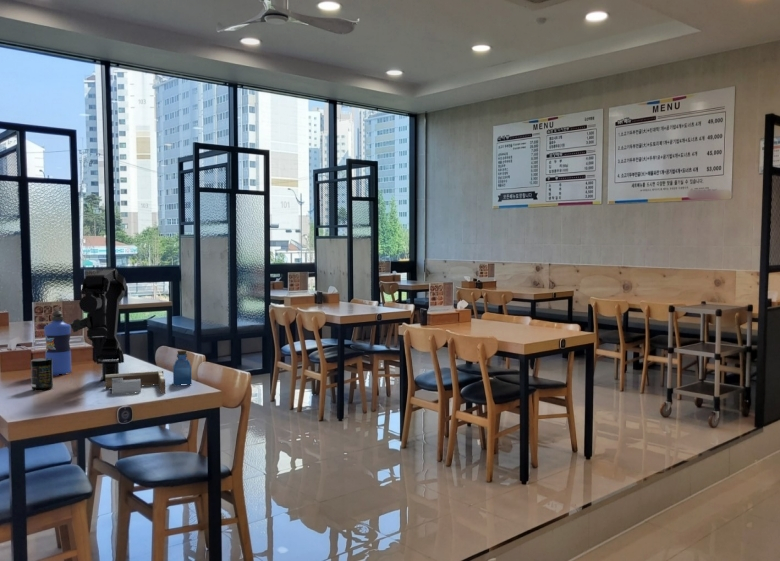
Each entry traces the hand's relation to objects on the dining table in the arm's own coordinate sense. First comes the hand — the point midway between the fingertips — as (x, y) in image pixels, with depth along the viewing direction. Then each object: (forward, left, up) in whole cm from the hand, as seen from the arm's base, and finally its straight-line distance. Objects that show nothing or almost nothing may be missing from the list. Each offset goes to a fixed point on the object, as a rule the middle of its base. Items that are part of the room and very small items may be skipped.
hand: (97, 354), depth 228 cm
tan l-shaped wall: (+11, +12, -12) cm, 20 cm away
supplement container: (-6, -18, -12) cm, 23 cm away
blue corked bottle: (+5, +28, -12) cm, 31 cm away
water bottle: (-38, -15, -12) cm, 43 cm away
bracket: (+10, +9, -12) cm, 18 cm away
